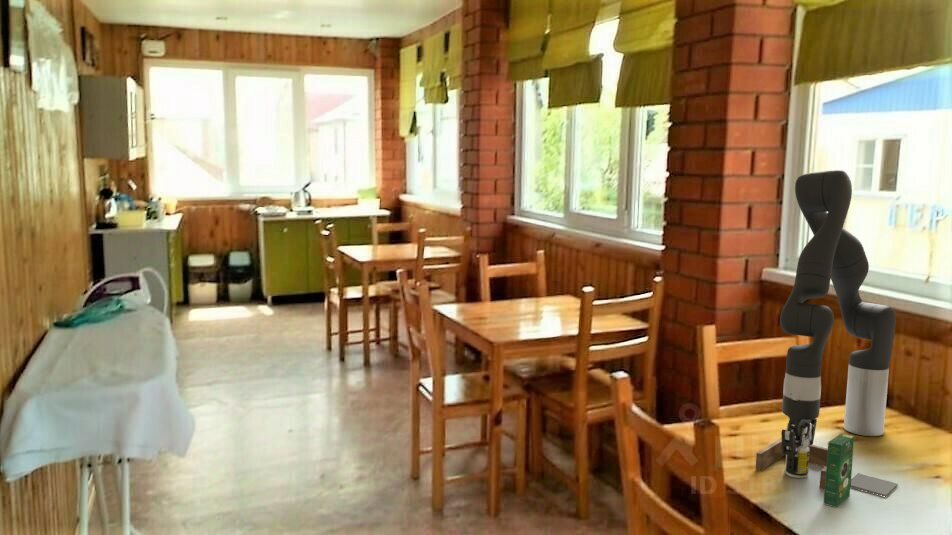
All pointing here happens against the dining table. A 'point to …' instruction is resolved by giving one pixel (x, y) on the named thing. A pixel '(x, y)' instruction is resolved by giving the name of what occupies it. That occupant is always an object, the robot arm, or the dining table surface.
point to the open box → (775, 452)
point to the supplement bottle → (801, 461)
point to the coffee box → (838, 469)
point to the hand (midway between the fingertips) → (796, 468)
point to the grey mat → (872, 484)
